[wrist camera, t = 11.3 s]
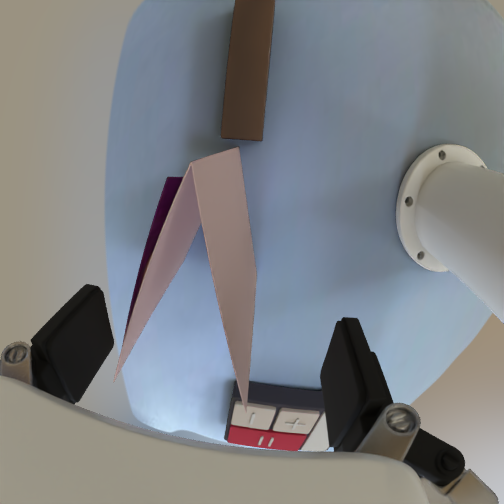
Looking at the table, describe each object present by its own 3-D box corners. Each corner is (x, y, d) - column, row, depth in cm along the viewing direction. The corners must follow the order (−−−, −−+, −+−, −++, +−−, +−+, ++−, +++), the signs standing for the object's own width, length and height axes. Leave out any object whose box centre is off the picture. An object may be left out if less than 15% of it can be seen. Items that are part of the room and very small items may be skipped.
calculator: (230, 402, 28) (358, 415, 28) (236, 375, 32) (352, 389, 32) (222, 444, 32) (327, 455, 32) (227, 421, 36) (325, 432, 36)
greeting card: (229, 142, 22) (166, 150, 8) (310, 184, 23) (373, 259, 9) (174, 257, 26) (98, 374, 12) (246, 291, 27) (229, 430, 13)
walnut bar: (274, 11, 17) (275, -1, 15) (262, 141, 22) (261, 141, 19) (238, 9, 17) (235, -3, 15) (225, 138, 22) (220, 138, 19)
